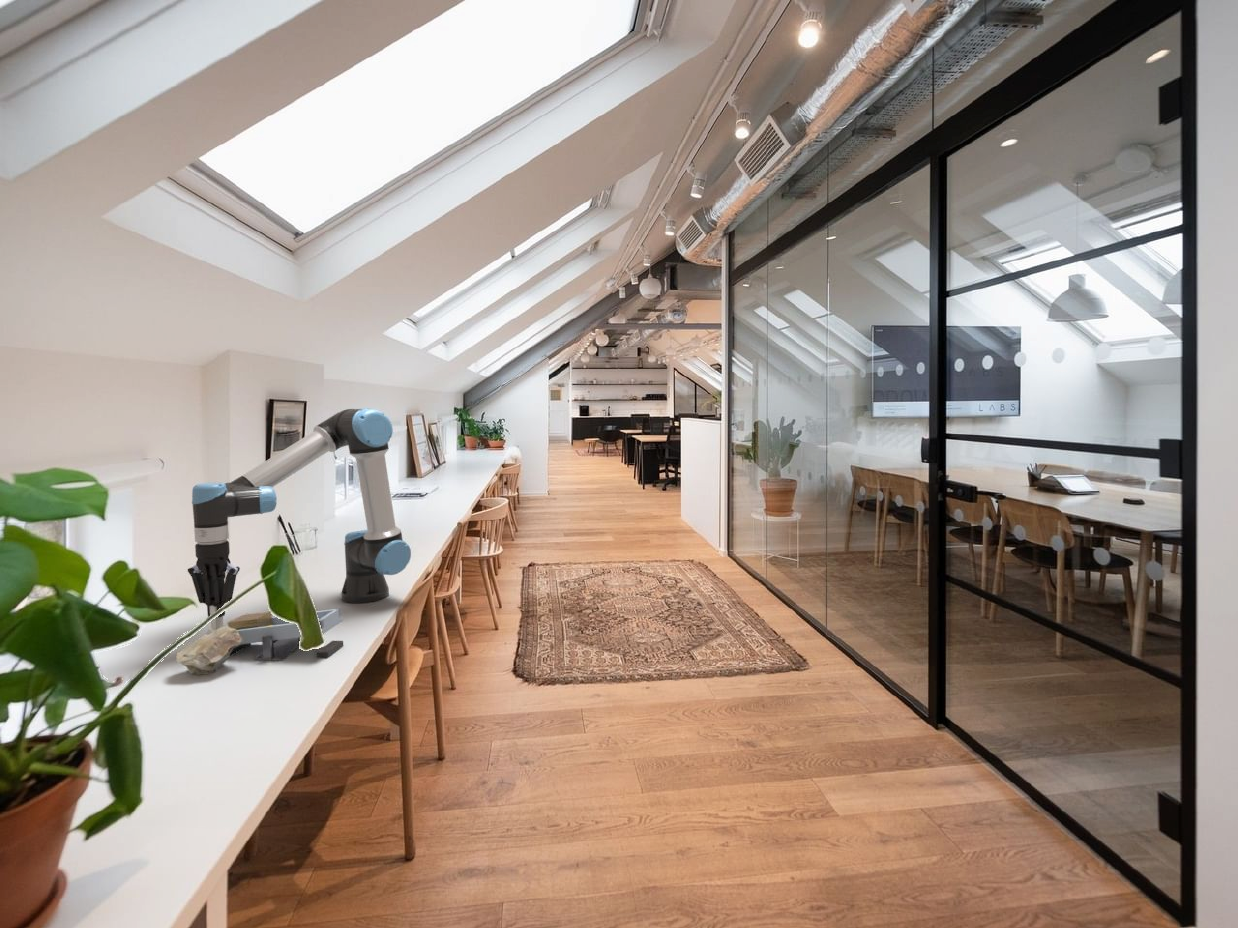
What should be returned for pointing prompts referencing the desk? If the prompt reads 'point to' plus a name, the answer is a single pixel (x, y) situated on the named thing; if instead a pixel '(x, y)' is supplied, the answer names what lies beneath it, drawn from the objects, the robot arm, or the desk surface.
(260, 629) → the beam
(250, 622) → the brown wooden block
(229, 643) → the stone
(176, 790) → the desk surface
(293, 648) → the fulcrum
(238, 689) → the desk surface
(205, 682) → the desk surface
